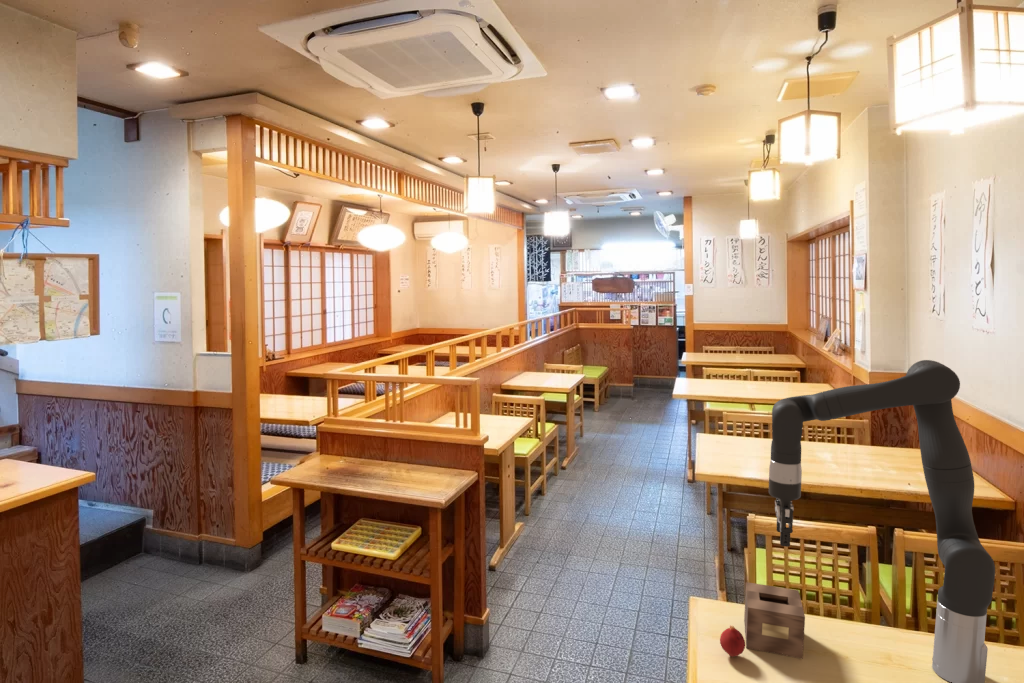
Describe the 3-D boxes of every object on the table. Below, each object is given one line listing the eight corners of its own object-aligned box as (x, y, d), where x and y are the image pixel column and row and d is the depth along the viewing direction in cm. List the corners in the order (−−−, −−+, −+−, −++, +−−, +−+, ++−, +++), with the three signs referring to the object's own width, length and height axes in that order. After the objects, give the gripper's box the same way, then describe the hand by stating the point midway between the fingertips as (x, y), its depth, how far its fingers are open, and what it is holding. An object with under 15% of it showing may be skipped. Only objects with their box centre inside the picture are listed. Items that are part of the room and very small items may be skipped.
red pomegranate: (740, 649, 149) (741, 619, 148) (747, 664, 144) (748, 633, 143) (717, 648, 150) (718, 618, 149) (722, 662, 144) (724, 632, 143)
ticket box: (796, 629, 158) (798, 590, 156) (802, 659, 145) (805, 617, 144) (744, 619, 162) (745, 582, 161) (746, 648, 150) (748, 607, 148)
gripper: (805, 488, 142) (803, 552, 144) (797, 470, 156) (795, 529, 157) (771, 485, 145) (769, 548, 146) (766, 467, 158) (764, 525, 160)
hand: (782, 538), depth 152 cm, fingers open, 8 cm apart
